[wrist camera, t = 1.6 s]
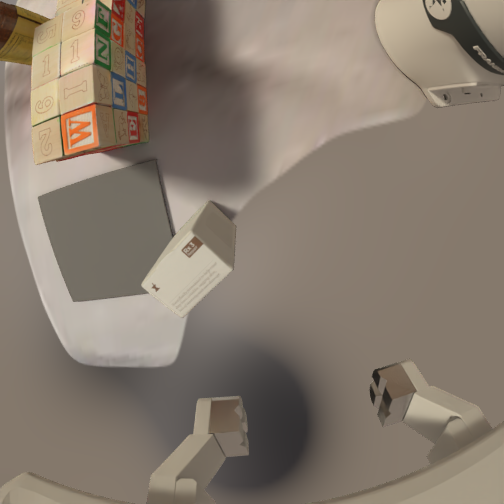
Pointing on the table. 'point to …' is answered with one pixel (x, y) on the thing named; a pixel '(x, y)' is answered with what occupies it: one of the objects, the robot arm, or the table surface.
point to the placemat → (108, 231)
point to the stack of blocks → (89, 79)
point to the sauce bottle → (17, 33)
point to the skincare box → (193, 261)
